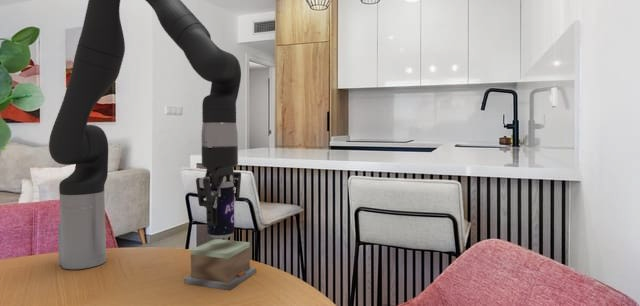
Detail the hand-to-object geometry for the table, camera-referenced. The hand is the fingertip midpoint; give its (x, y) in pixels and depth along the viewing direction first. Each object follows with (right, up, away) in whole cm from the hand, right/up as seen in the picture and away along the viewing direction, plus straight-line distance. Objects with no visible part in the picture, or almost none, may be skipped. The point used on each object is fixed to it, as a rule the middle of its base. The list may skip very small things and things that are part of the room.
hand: (220, 222), depth 88 cm
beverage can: (0, -3, 0) cm, 3 cm away
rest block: (0, -12, +1) cm, 12 cm away
